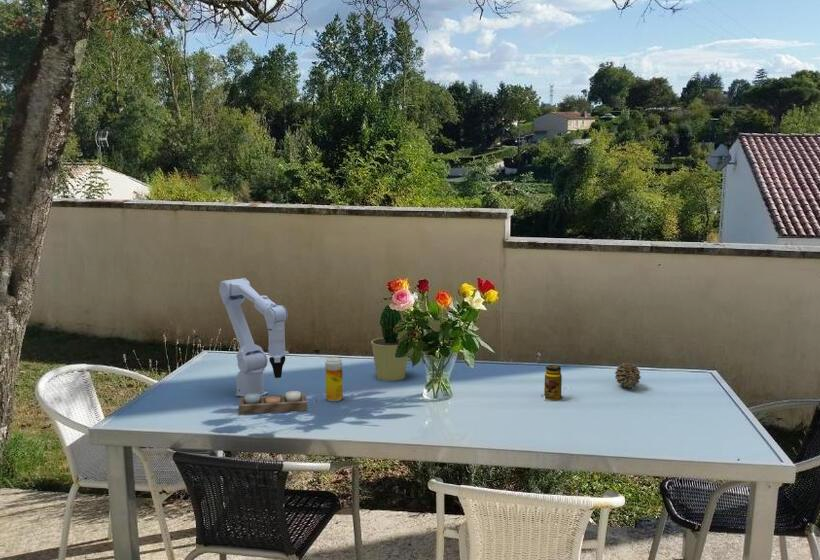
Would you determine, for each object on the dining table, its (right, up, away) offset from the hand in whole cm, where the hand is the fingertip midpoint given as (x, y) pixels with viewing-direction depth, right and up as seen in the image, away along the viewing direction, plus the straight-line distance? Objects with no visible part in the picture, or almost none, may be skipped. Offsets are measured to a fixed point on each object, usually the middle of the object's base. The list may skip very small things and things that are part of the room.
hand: (277, 377), depth 271 cm
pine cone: (+130, -6, +23) cm, 132 cm away
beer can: (+20, -9, +5) cm, 22 cm away
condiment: (+99, -9, +7) cm, 100 cm away
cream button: (+6, -8, -4) cm, 11 cm away
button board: (-1, -10, -5) cm, 11 cm away
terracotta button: (-1, -9, -5) cm, 11 cm away
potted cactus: (+39, -5, +34) cm, 52 cm away
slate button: (-8, -8, -6) cm, 13 cm away
